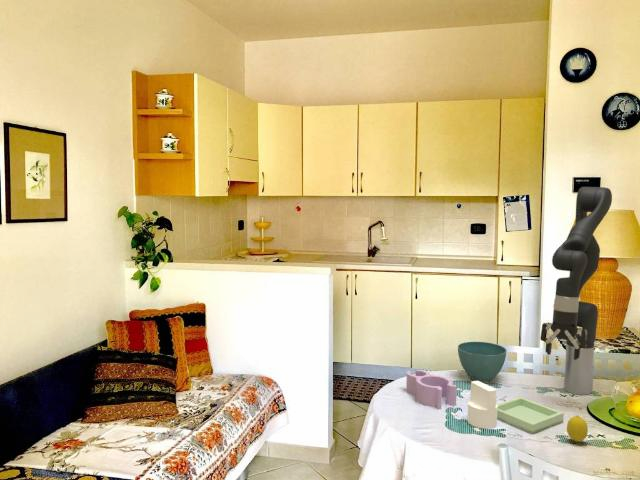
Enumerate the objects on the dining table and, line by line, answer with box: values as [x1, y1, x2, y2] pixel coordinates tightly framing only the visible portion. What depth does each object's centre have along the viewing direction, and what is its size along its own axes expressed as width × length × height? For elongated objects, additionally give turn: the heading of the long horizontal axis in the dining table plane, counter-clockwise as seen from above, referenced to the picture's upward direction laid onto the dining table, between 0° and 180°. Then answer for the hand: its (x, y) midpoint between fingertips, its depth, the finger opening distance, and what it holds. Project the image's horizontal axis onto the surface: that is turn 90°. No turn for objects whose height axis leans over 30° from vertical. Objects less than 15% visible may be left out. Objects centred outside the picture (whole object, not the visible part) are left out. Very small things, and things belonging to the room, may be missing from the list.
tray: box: [496, 396, 564, 435], centre depth 175 cm, size 16×16×3 cm
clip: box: [405, 369, 458, 410], centre depth 192 cm, size 20×12×7 cm, turn 28°
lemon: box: [566, 415, 589, 443], centre depth 159 cm, size 6×6×8 cm
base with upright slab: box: [467, 380, 498, 430], centre depth 172 cm, size 9×9×12 cm
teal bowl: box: [457, 341, 507, 383], centre depth 212 cm, size 18×18×12 cm
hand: (562, 356), depth 183 cm, fingers open, 8 cm apart
